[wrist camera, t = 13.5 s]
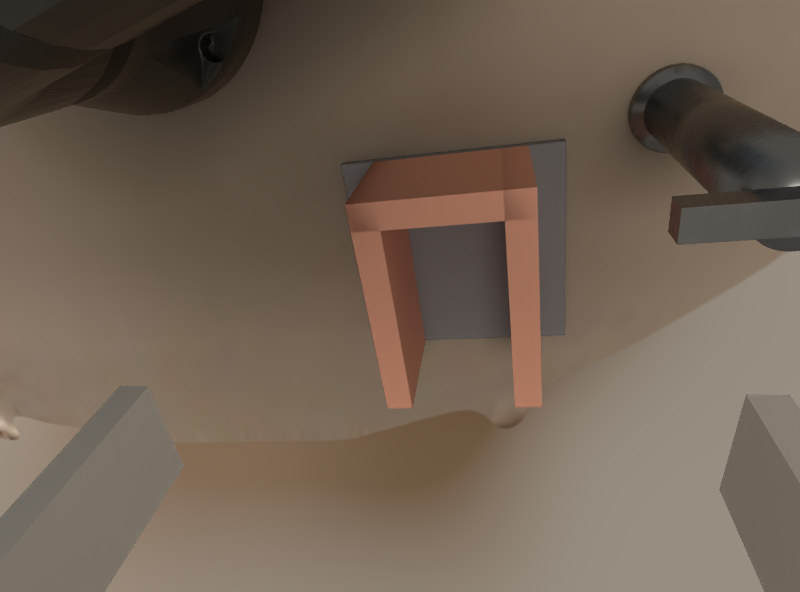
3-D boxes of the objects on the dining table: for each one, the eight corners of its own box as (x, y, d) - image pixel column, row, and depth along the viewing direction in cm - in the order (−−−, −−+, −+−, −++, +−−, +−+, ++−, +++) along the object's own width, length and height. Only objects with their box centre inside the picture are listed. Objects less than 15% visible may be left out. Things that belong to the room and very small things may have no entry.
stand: (596, 157, 30) (671, 289, 17) (598, 74, 28) (688, 154, 15) (745, 142, 28) (952, 275, 16) (761, 52, 26) (1015, 123, 13)
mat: (378, 337, 39) (377, 341, 38) (342, 162, 32) (341, 165, 32) (563, 330, 36) (564, 335, 36) (564, 138, 30) (565, 141, 29)
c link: (404, 340, 38) (388, 408, 32) (373, 162, 31) (345, 204, 25) (534, 336, 36) (542, 406, 30) (528, 145, 30) (537, 186, 24)
